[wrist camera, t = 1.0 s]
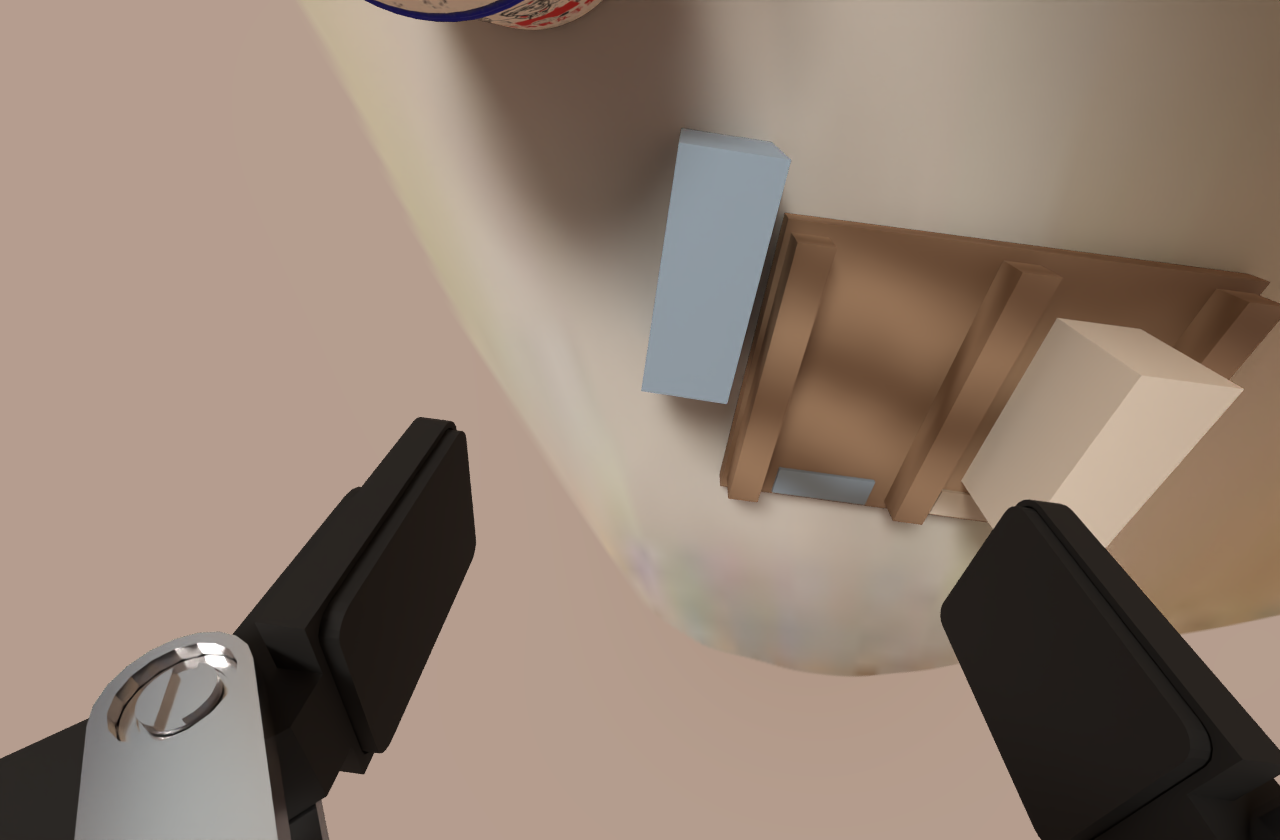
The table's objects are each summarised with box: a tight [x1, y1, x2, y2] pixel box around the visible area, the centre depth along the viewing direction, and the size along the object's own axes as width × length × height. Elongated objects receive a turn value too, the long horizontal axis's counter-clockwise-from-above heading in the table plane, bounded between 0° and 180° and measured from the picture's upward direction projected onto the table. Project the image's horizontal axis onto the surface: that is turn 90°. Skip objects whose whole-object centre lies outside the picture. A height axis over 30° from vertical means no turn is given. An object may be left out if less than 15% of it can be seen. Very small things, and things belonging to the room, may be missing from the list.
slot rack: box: [720, 213, 1280, 525], centre depth 24 cm, size 14×19×2 cm
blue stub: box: [641, 128, 791, 404], centre depth 21 cm, size 9×4×5 cm, turn 173°
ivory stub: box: [961, 318, 1244, 548], centre depth 23 cm, size 9×4×5 cm, turn 174°
